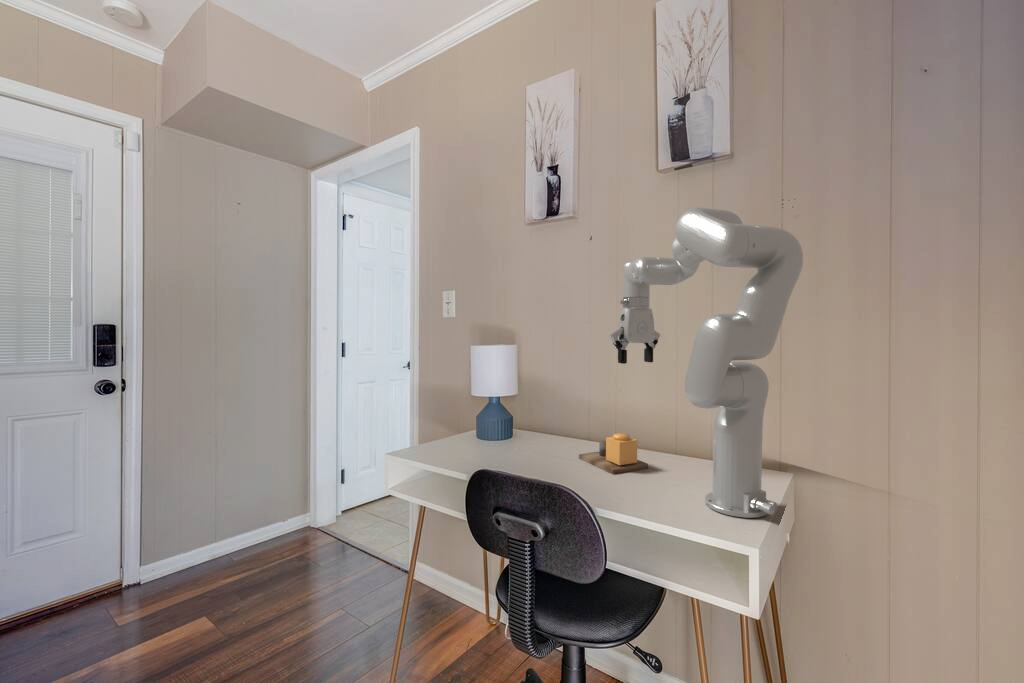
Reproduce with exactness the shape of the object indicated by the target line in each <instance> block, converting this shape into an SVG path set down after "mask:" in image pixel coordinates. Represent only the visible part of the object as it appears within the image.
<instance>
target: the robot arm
mask: <svg viewBox="0 0 1024 683" xmlns="http://www.w3.org/2000/svg"><path fill="white" fill-rule="evenodd" d="M674 234H675V238H674V239H673V241H672V244H671V252H672V254H673V257H657V256H656V257H652V256H642V257H638V258H636V259H635V260H631V261H627V262H625V263H624V264H623V266H622V299H621V300H620V305H622V308H621V309H620V314H619V320H618V329H617V330H616V331H614V332H612V333H611V334H610V338H611V341H612V344H613V345H614V347H615V349H616V350H617V363H618V364H624V365H625V364H627V363H628V360H627V359H628V350H627V349H626V348H627V346H628V345H629V344H643V345H644V346H645V348H644V349H643V355H644V356H643V357H644V358H643V361H644V363H653V362H654V349H656V345H657V344H658V343H659V340H660V336H661V334H660V333H659V332H658V331H656V329H655V318H654V312H653V310H652V308H650V292H651V290H650V288H651V286H656V285H657V286H673V285H676V284H680V283H682V282H683V281H686V280H688V279H689V278H692V277H693V276H694V275H695V274H696V272H697V271H698V269H699V267H700V263H702V262H704V261H707V262H709V263H710V264H713V265H715V266H718V267H725V268H745V269H747V268H749V269H752V268H754V269H756V270H757V272H756V273H755V274H754V275H753V276H752V277H751V278H750V279H749V280H748V282H747V284H746V285H745V287H744V288H743V290H742V292H741V295H740V300H739V301H738V302H739V303H738V305H737V309H736V310H735V312H734V313H719V314H714V315H711V316H709V317H707V319H705V320H704V321H703V322H702V323H701V325H700V326H699V328H698V330H697V332H696V336H695V338H694V341H693V346H692V350H691V354H690V357H689V360H688V361H689V362H688V365H687V368H686V369H687V370H686V373H685V376H684V377H685V380H684V390H685V394H686V398H687V400H688V401H689V402H690V403H691V404H692V405H693V406H694V407H697V408H699V409H700V408H701V409H706V410H707V409H718V411H717V412H716V415H715V418H714V423H713V437H712V438H713V444H712V445H713V446H712V448H713V452H712V492H709V493H708V494H706V495H705V497H704V503H705V505H706V506H707V507H709V508H710V509H711V510H713V511H715V512H718V513H721V514H724V515H728V516H732V517H737V518H747V519H750V518H751V519H753V518H762V517H765V516H767V515H771V516H773V515H774V513H775V512H776V509H777V507H778V503H777V502H775V501H773V500H769V499H767V491H766V490H763V489H762V479H763V478H762V474H763V473H762V471H763V470H762V468H763V430H764V429H763V425H764V414H765V407H766V403H767V399H768V395H769V389H770V388H769V387H770V386H769V385H770V384H769V378H768V376H767V374H766V372H765V371H764V370H763V369H762V368H761V367H760V366H759V365H757V364H754V363H752V362H748V361H750V360H751V361H754V360H760V359H763V358H766V357H767V356H769V355H770V354H771V353H772V351H773V349H774V347H775V344H776V341H777V338H778V335H779V332H780V330H781V326H782V324H783V320H784V317H785V314H786V311H787V307H788V303H789V301H790V298H791V296H792V293H793V290H794V288H795V286H796V284H797V282H798V280H799V277H800V275H801V272H802V270H803V269H802V268H803V263H804V254H803V249H802V246H801V244H800V242H799V240H798V238H796V237H795V235H794V234H792V233H791V232H789V231H788V230H785V229H783V228H779V227H775V226H769V225H757V224H745V223H744V224H743V221H742V219H741V217H740V216H738V215H737V214H736V213H735V212H732V211H730V210H726V209H716V208H707V207H694V208H689V209H688V210H686V211H685V212H683V214H681V216H680V217H679V218H678V220H677V222H676V224H675V229H674Z"/></svg>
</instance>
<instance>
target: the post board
mask: <svg viewBox="0 0 1024 683" xmlns="http://www.w3.org/2000/svg"><path fill="white" fill-rule="evenodd" d="M598 442H599V443H598V444H599V451H594V452H587V453H580V454H578V458H579V460H581V461H584V462H585V463H588V464H590V465H592V466H594V467H596V468H599V469H601V470H603V471H605V472H607V473H609V474H611V475H616V474H622V473H627V472H632V471H633V472H634V471H640V470H644V469H649V463H647V462H645V461H642V460H640V459H637V463H631V464H624V465H618V464H615V463H613V462H611V461H608V460H606V440H600V441H598Z"/></svg>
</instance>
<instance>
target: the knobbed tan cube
mask: <svg viewBox="0 0 1024 683" xmlns="http://www.w3.org/2000/svg"><path fill="white" fill-rule="evenodd" d="M605 441H606V460H608V461H611V462H613V463H615V464H618V465H624V464H631V463H637V460H638V439H635V438H633V437H630V434H627V433H622V432H621V433H619V432H618V433H614V434H613V435H612V436H608V437H605Z"/></svg>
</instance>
